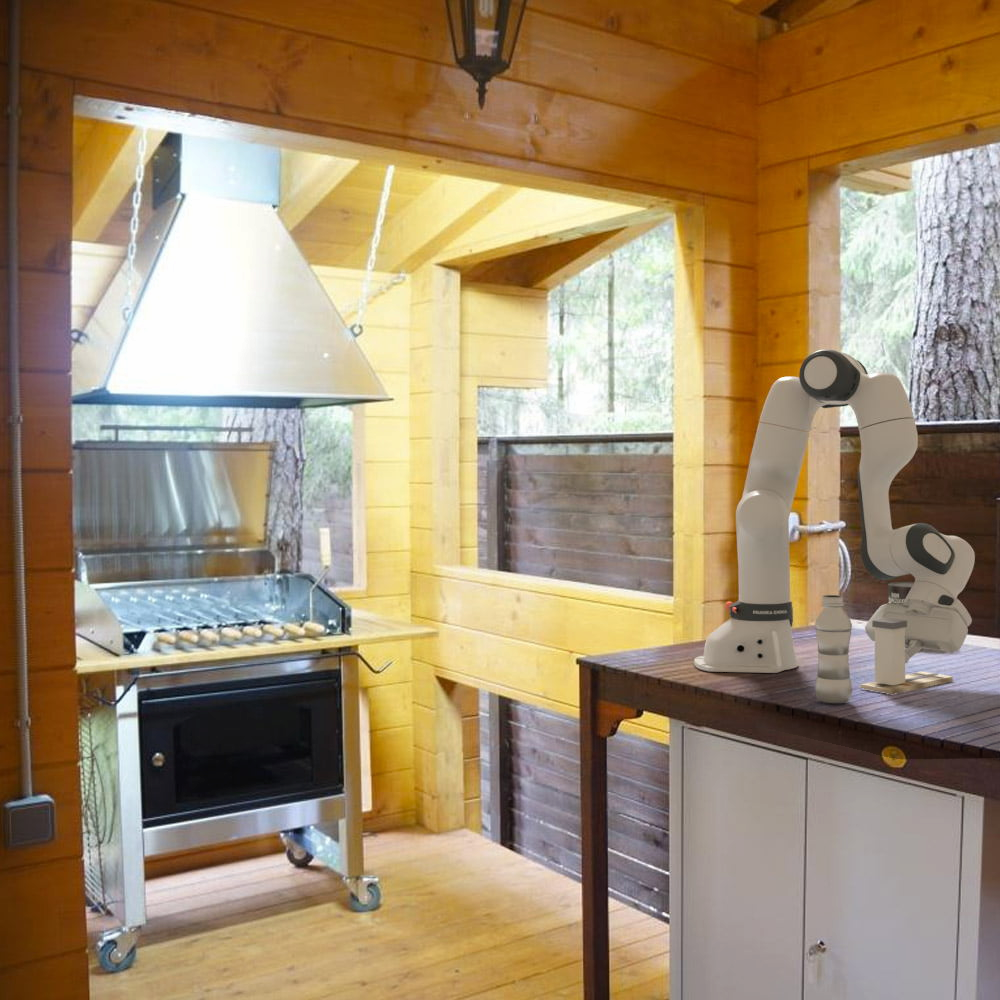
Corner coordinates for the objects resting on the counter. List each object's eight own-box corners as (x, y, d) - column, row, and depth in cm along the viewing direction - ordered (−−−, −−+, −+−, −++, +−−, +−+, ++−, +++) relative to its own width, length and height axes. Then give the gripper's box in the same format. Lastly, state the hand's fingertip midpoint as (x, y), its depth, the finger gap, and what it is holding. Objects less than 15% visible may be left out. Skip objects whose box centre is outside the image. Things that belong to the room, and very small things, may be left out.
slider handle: (887, 679, 222) (886, 618, 221) (907, 682, 218) (907, 620, 218) (872, 682, 219) (872, 620, 219) (893, 685, 215) (892, 623, 215)
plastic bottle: (823, 697, 212) (822, 593, 212) (858, 702, 208) (857, 595, 207) (809, 703, 207) (807, 596, 207) (844, 708, 203) (843, 599, 202)
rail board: (922, 676, 230) (922, 670, 230) (952, 681, 225) (952, 675, 225) (860, 689, 219) (860, 683, 219) (891, 695, 213) (891, 689, 213)
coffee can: (910, 646, 266) (910, 587, 265) (879, 640, 275) (878, 583, 274) (942, 642, 270) (942, 584, 269) (910, 637, 279) (910, 581, 279)
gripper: (876, 591, 232) (847, 643, 227) (966, 601, 216) (937, 657, 210) (890, 611, 235) (861, 662, 230) (980, 621, 218) (951, 677, 213)
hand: (898, 660), depth 220 cm, fingers closed, pressing on slider handle
